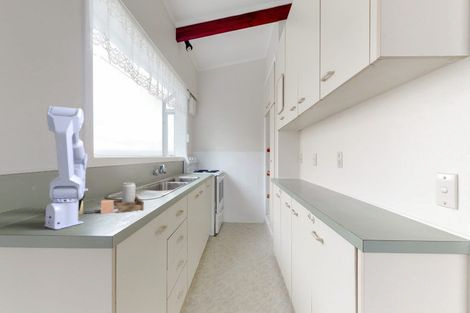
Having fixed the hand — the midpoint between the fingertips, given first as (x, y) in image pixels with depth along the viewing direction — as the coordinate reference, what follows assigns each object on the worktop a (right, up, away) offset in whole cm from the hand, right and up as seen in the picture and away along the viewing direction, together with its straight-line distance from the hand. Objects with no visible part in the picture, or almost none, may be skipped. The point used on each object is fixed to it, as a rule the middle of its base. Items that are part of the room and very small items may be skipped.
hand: (76, 210), depth 101 cm
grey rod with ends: (+6, -2, +3) cm, 7 cm away
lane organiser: (+15, -2, +16) cm, 22 cm away
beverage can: (+14, -3, +20) cm, 24 cm away
